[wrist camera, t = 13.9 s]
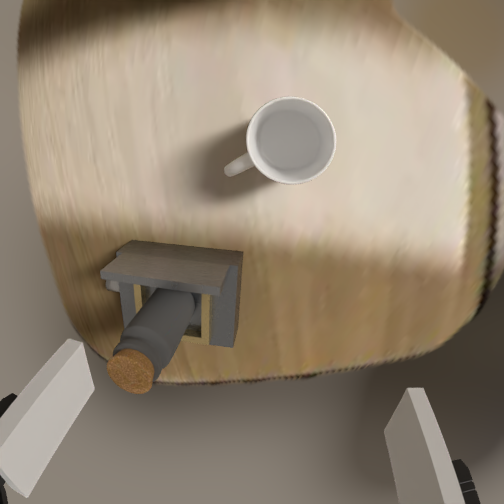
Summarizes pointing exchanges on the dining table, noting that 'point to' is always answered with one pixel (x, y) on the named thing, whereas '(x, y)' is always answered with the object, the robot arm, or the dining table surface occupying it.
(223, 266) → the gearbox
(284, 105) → the mug
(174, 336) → the bottle
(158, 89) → the dining table surface
